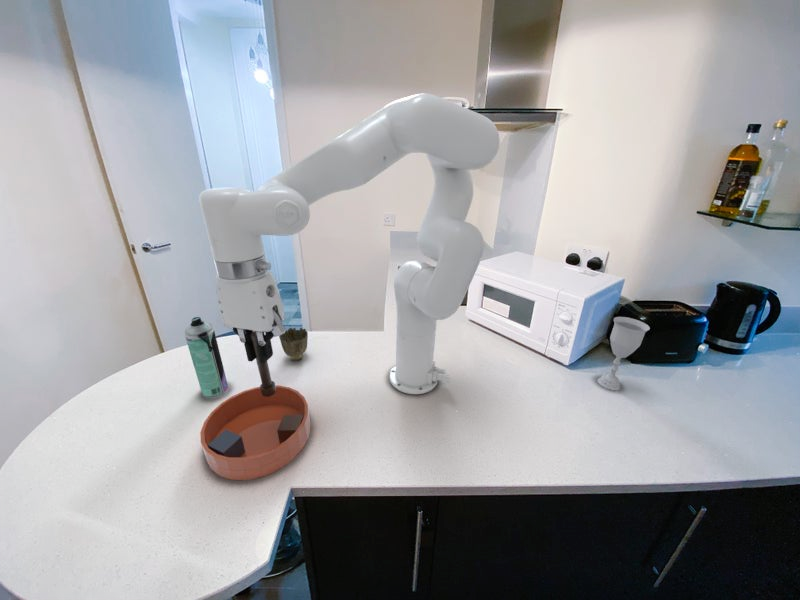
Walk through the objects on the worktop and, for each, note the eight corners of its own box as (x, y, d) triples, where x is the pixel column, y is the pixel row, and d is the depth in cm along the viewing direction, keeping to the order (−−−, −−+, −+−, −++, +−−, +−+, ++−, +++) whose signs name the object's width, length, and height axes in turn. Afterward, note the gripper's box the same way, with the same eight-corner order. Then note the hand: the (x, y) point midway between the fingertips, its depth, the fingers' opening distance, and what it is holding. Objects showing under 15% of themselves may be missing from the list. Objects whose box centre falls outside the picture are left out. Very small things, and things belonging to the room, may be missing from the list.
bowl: (326, 413, 70) (324, 394, 68) (275, 494, 53) (270, 472, 51) (251, 397, 75) (247, 378, 72) (182, 467, 57) (174, 446, 55)
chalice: (589, 383, 83) (610, 323, 75) (596, 372, 87) (616, 314, 80) (622, 396, 78) (647, 334, 71) (627, 384, 83) (651, 324, 75)
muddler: (279, 388, 65) (266, 330, 59) (271, 398, 62) (257, 338, 56) (267, 386, 65) (253, 328, 59) (258, 395, 63) (243, 336, 57)
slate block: (245, 451, 60) (241, 436, 59) (227, 468, 57) (223, 453, 55) (230, 444, 62) (226, 429, 60) (212, 460, 58) (207, 445, 57)
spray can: (233, 387, 78) (216, 315, 69) (215, 402, 73) (194, 326, 65) (216, 382, 79) (197, 311, 71) (197, 396, 74) (174, 321, 66)
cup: (313, 351, 93) (311, 327, 89) (304, 366, 86) (301, 341, 83) (289, 349, 93) (286, 326, 90) (278, 364, 87) (274, 339, 83)
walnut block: (305, 429, 66) (303, 414, 64) (300, 445, 62) (298, 430, 60) (286, 429, 65) (283, 414, 64) (279, 445, 62) (277, 430, 60)
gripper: (296, 263, 54) (308, 353, 62) (218, 256, 57) (239, 342, 65) (269, 278, 47) (287, 377, 55) (183, 269, 51) (211, 363, 58)
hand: (260, 357), depth 60 cm, fingers closed on muddler
